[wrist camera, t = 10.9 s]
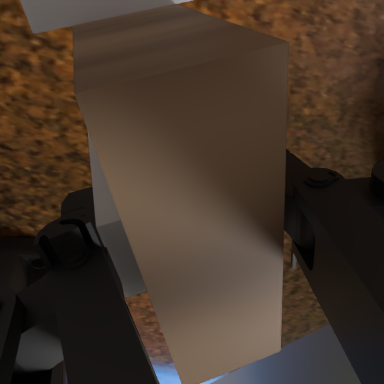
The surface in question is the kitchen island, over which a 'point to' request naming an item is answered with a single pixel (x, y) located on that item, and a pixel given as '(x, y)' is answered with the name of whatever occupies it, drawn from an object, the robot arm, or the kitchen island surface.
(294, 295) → the kitchen island surface
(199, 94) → the bookend
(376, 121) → the kitchen island surface
